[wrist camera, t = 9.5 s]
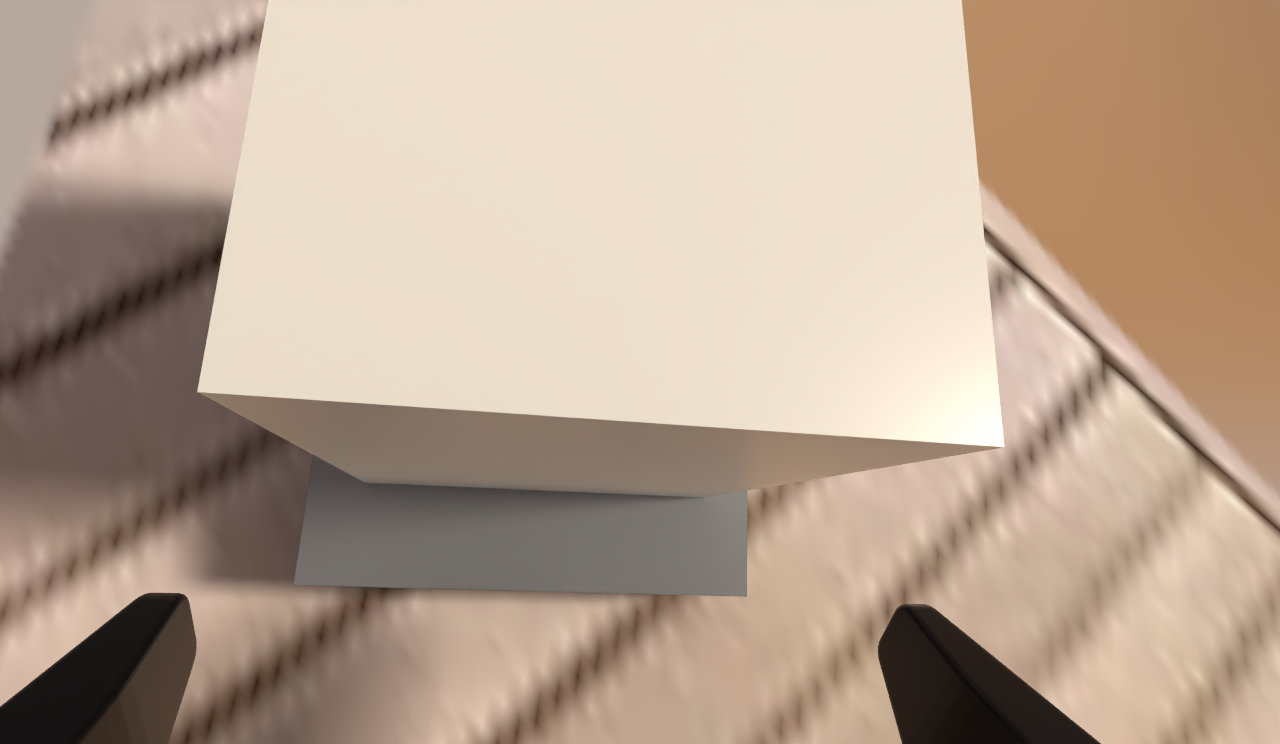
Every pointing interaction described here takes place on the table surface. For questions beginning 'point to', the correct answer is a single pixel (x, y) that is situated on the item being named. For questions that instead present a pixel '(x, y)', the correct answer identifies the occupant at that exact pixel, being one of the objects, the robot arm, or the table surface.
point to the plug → (609, 243)
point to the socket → (519, 539)
